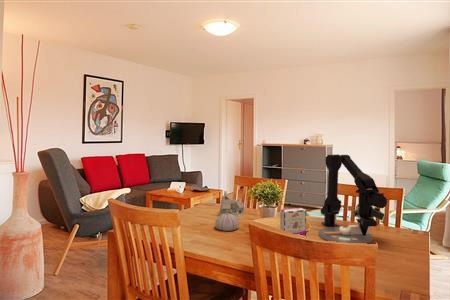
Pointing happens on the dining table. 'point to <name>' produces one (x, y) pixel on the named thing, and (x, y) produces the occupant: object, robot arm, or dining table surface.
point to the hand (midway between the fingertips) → (364, 235)
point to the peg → (348, 230)
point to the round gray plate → (344, 236)
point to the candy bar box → (293, 221)
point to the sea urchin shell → (227, 222)
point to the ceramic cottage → (231, 206)
